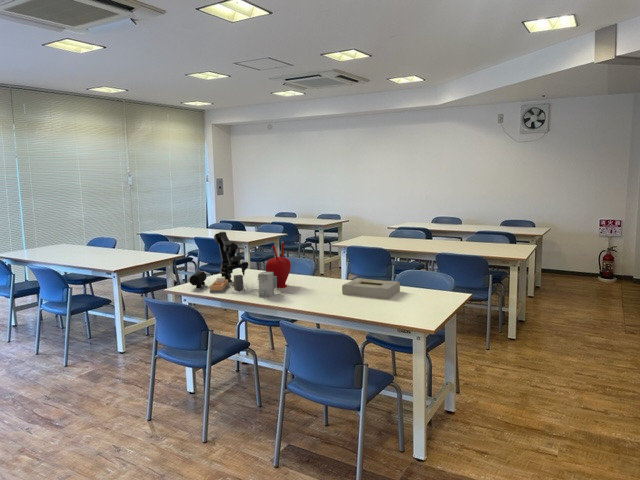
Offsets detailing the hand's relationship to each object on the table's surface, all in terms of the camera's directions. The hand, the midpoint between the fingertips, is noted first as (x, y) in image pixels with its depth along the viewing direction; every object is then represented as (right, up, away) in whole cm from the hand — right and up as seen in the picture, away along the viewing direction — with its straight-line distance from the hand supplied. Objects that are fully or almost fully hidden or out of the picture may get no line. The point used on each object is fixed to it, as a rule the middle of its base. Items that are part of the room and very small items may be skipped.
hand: (237, 276), depth 320 cm
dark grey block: (+1, -9, 0) cm, 9 cm away
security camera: (-29, -9, +11) cm, 32 cm away
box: (+91, -10, -16) cm, 93 cm away
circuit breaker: (+23, -11, -15) cm, 30 cm away
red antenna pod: (+28, -8, +8) cm, 30 cm away
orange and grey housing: (-13, -9, +3) cm, 16 cm away
